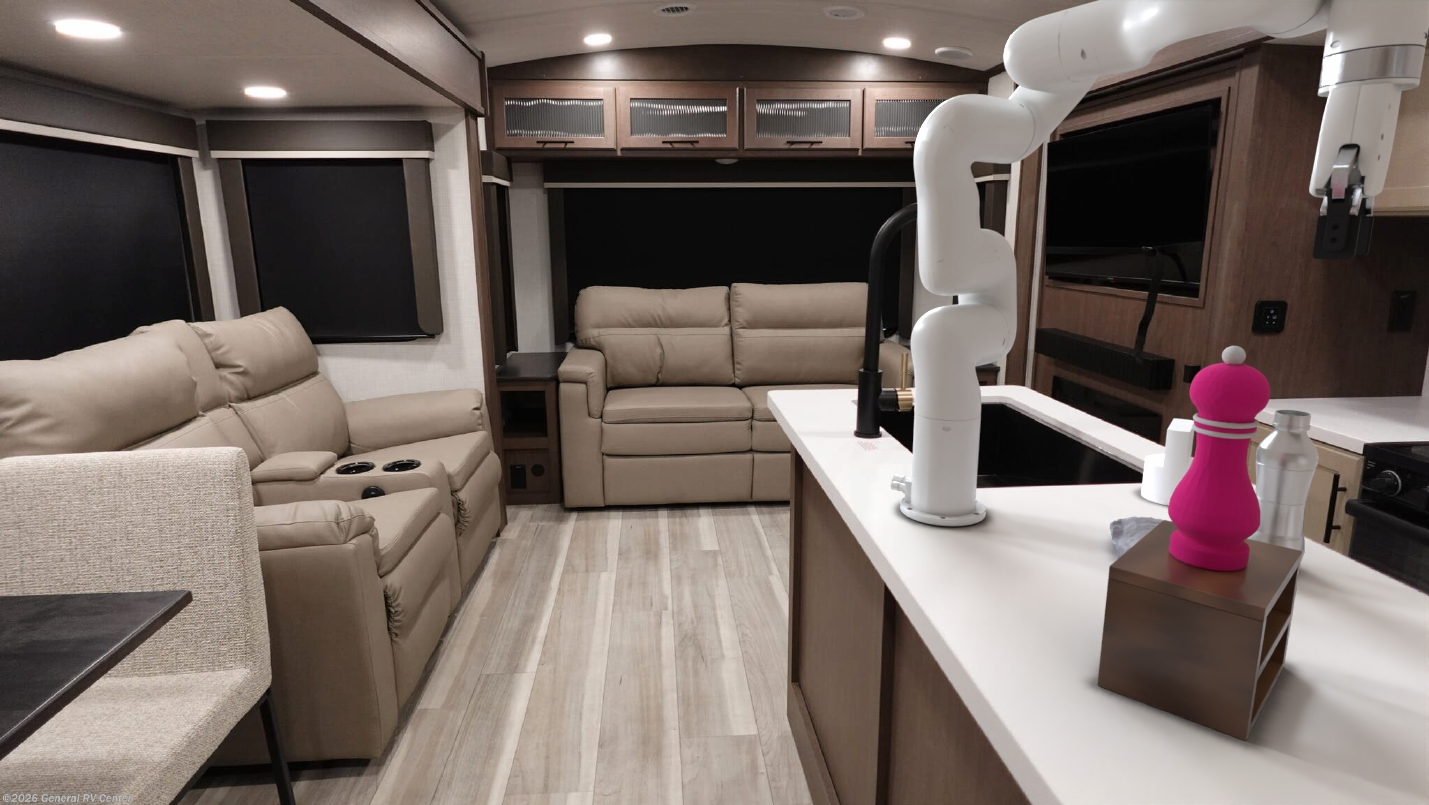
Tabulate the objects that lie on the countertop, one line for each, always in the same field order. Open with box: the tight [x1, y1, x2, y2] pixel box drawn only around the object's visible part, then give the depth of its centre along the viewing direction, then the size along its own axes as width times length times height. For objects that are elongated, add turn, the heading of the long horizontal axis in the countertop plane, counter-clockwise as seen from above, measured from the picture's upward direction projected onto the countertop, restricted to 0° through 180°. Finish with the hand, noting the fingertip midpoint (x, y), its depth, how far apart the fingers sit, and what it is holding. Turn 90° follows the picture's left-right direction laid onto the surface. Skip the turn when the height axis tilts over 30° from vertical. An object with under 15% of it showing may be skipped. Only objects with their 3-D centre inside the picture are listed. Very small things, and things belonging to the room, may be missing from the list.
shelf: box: [1096, 519, 1302, 741], centre depth 74 cm, size 12×16×12 cm
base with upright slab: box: [1140, 418, 1195, 506], centre depth 124 cm, size 9×9×12 cm
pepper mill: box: [1167, 345, 1271, 571], centre depth 71 cm, size 7×7×20 cm
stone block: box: [1109, 516, 1172, 559], centre depth 103 cm, size 12×5×10 cm
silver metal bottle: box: [1247, 409, 1320, 562], centre depth 98 cm, size 6×7×20 cm
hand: (1340, 257), depth 78 cm, fingers open, 9 cm apart
